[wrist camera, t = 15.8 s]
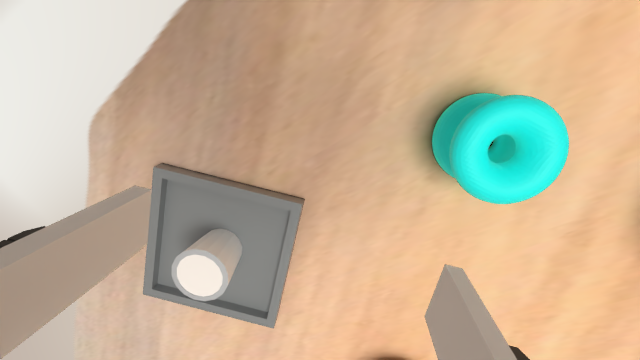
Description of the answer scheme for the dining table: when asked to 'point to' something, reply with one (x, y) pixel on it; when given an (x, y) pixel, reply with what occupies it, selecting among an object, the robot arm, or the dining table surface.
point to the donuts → (501, 146)
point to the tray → (233, 215)
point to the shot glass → (207, 265)
